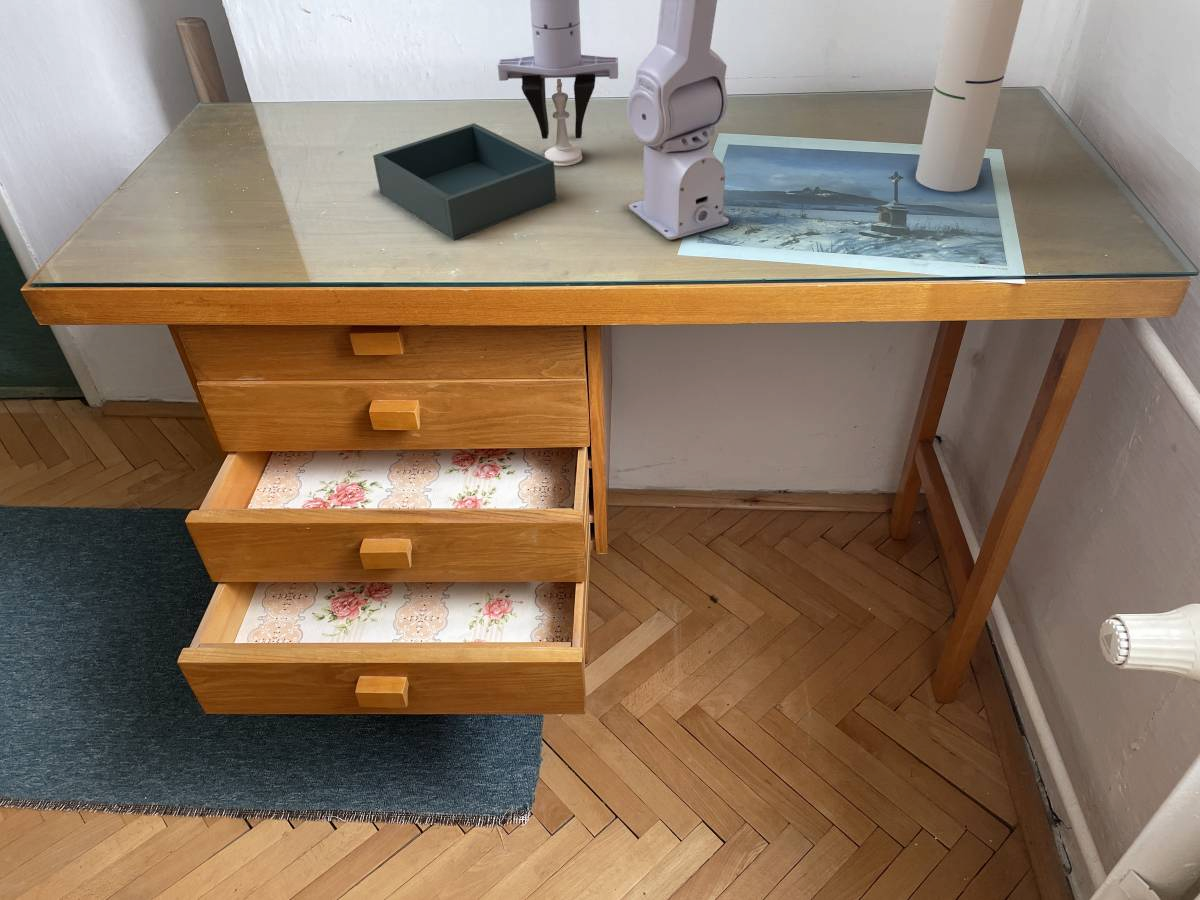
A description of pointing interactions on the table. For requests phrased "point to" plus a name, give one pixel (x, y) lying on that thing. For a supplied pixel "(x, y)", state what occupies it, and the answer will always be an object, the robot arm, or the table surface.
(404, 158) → the dark green open box
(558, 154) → the chess piece
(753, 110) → the table surface
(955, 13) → the cylindrical container
